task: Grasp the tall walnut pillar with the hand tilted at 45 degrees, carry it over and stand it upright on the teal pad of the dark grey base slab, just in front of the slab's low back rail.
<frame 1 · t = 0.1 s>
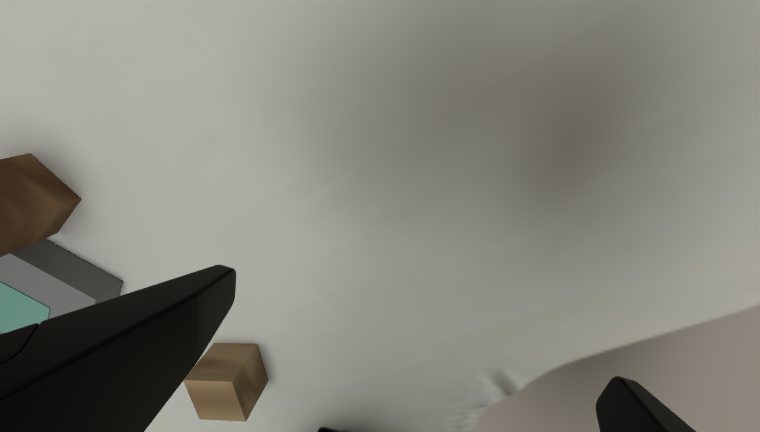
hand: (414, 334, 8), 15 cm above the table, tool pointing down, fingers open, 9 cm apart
base slab: (46, 295, 31), on the table
walnut pillar: (44, 195, 27), on the table
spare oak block: (241, 361, 31), on the table
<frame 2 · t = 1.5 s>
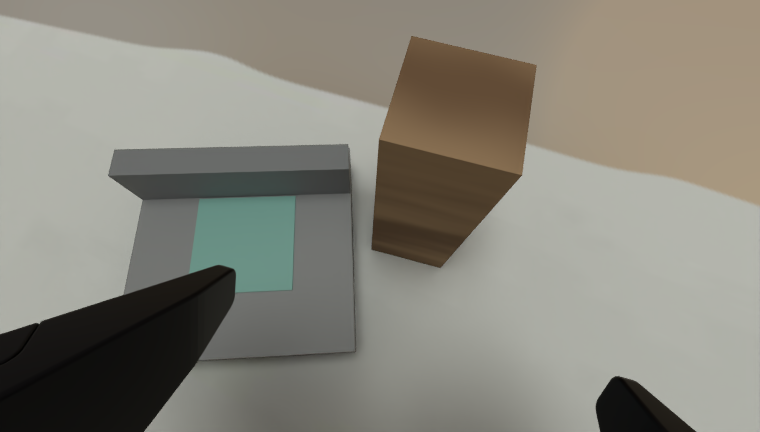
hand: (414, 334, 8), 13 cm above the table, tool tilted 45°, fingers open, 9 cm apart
base slab: (256, 254, 22), on the table
walnut pillar: (413, 226, 23), on the table
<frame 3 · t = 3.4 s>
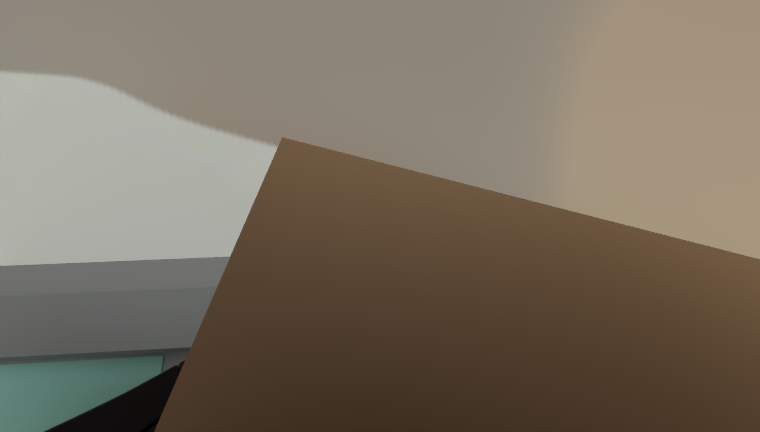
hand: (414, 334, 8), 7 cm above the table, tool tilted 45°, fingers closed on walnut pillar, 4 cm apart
walnut pillar: (384, 378, 14), on the table, touching gripper
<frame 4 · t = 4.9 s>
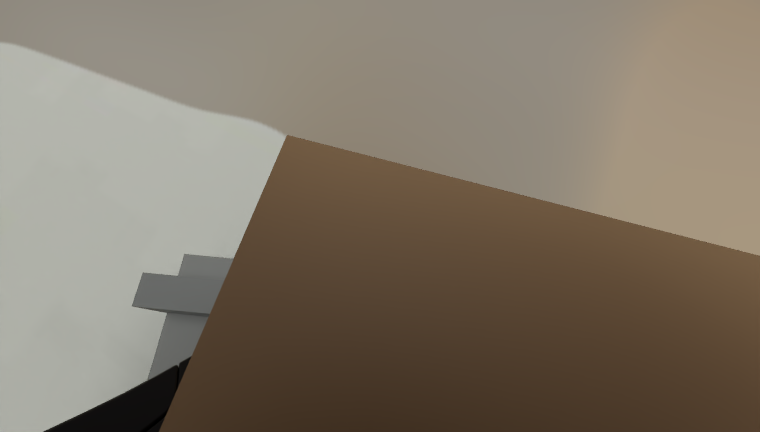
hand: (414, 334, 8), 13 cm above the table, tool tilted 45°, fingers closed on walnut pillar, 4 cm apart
base slab: (282, 380, 20), on the table
walnut pillar: (385, 378, 14), point 7 cm above the table, touching gripper
when the fingers open (10 cm above the table, at t = 6.4 s): walnut pillar stays where it is, resting on base slab.
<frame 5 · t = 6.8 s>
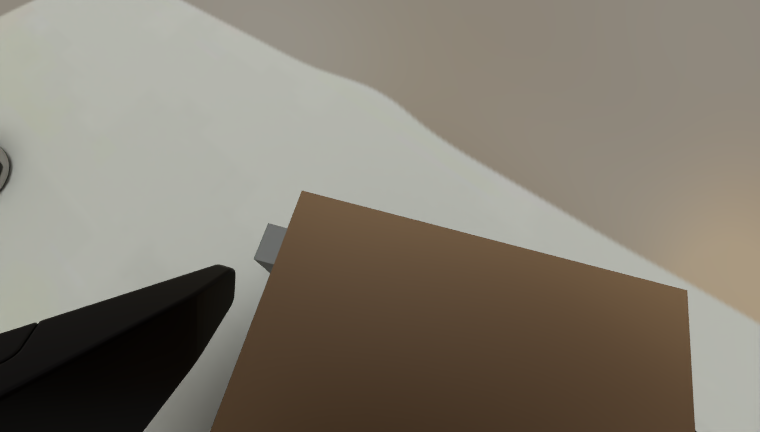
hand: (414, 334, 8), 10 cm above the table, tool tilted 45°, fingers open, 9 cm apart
base slab: (380, 373, 17), on the table
walnut pillar: (384, 377, 15), point 3 cm above the table, touching base slab
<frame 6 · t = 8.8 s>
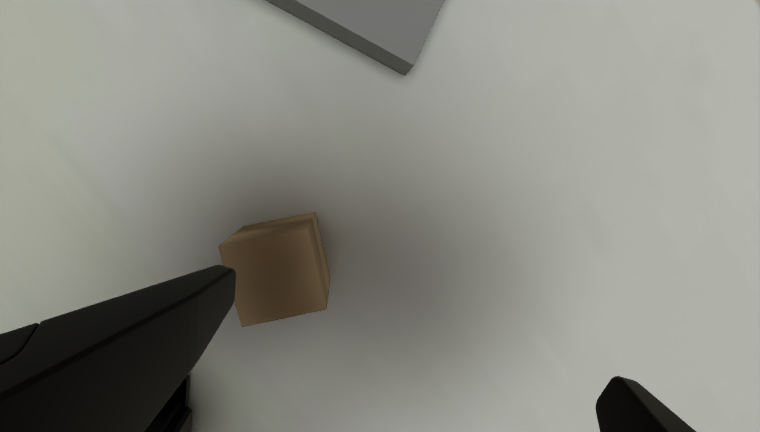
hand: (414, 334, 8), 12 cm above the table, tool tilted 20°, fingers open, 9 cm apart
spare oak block: (288, 252, 20), on the table
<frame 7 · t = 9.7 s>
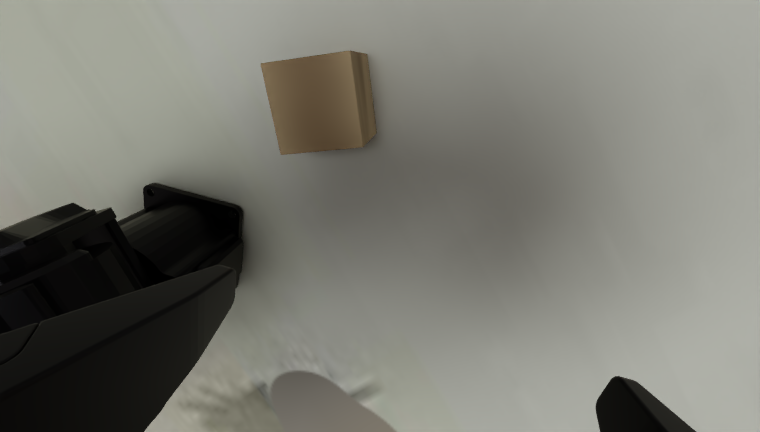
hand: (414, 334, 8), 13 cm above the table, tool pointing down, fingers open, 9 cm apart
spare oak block: (336, 99, 19), on the table
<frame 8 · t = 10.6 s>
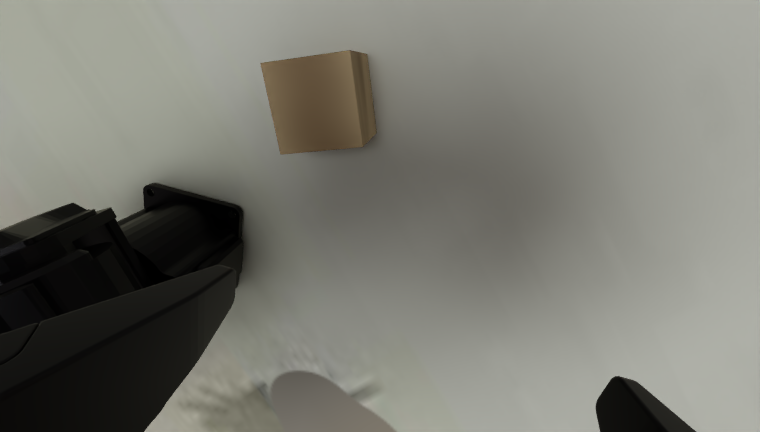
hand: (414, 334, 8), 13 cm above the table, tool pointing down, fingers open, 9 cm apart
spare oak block: (336, 99, 19), on the table
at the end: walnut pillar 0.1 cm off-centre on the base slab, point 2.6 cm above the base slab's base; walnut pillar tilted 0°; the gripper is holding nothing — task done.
